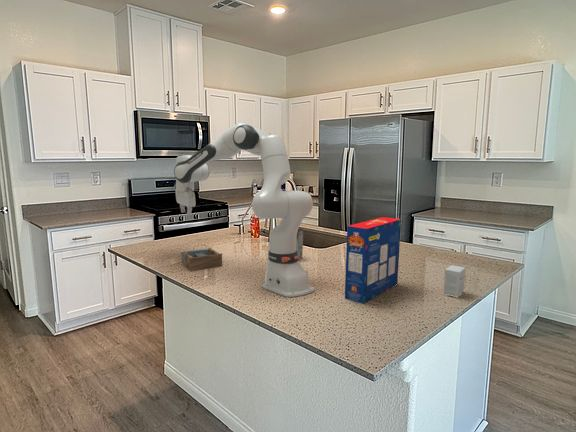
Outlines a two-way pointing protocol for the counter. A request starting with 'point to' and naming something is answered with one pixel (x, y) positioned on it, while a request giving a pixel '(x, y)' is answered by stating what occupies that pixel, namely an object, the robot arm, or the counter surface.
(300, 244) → the coffee box
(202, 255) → the dark gray rectangular block
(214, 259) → the wooden u-shaped block
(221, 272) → the counter surface
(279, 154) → the robot arm
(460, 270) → the small box
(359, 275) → the blue red retail box
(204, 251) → the rounded end plank
